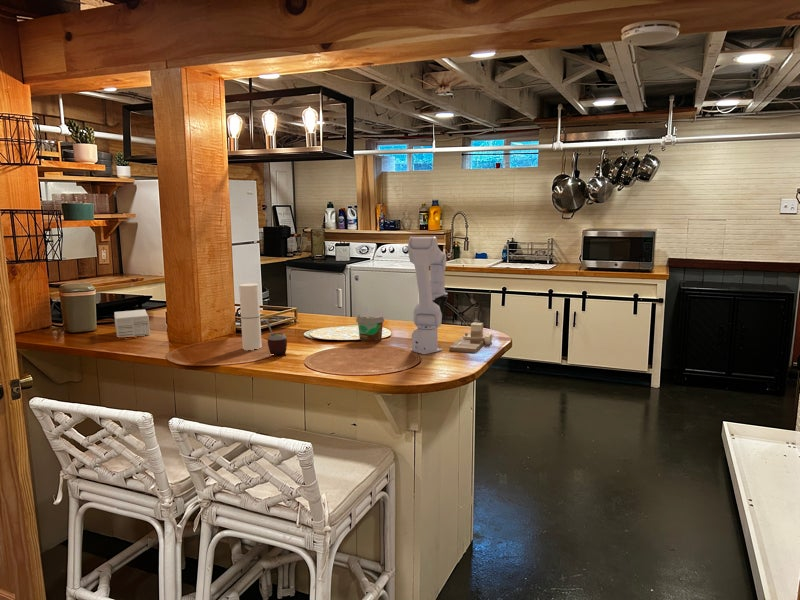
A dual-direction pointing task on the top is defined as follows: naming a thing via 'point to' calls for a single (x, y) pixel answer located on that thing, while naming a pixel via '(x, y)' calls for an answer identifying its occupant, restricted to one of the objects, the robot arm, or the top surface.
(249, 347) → the cylindrical container
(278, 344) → the mate gourd
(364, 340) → the food container
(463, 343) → the walnut board
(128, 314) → the supplement box
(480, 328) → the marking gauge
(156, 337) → the top surface
